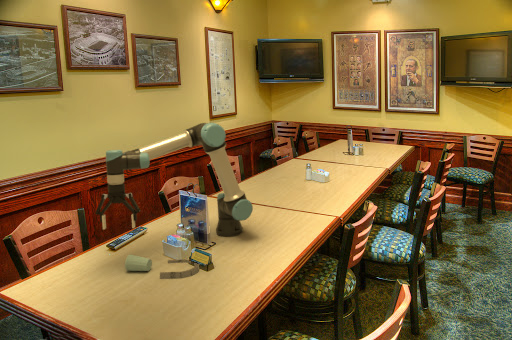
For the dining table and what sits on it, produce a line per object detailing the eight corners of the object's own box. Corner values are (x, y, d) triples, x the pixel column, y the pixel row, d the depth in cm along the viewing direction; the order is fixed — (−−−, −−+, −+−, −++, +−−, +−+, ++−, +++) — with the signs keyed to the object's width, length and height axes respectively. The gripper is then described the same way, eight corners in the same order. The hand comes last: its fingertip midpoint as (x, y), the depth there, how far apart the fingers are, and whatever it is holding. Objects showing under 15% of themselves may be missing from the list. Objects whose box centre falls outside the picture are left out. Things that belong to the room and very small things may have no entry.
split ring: (201, 263, 215) (201, 258, 215) (195, 277, 197) (195, 272, 197) (168, 264, 215) (168, 260, 215) (160, 278, 197) (159, 273, 197)
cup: (144, 273, 202) (123, 271, 204) (151, 273, 209) (131, 270, 212) (146, 256, 203) (126, 254, 205) (153, 256, 210) (134, 254, 213)
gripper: (144, 181, 209) (147, 225, 211) (91, 183, 208) (94, 227, 211) (141, 183, 201) (144, 229, 204) (86, 185, 201) (89, 231, 203)
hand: (119, 228), depth 207 cm, fingers open, 13 cm apart
